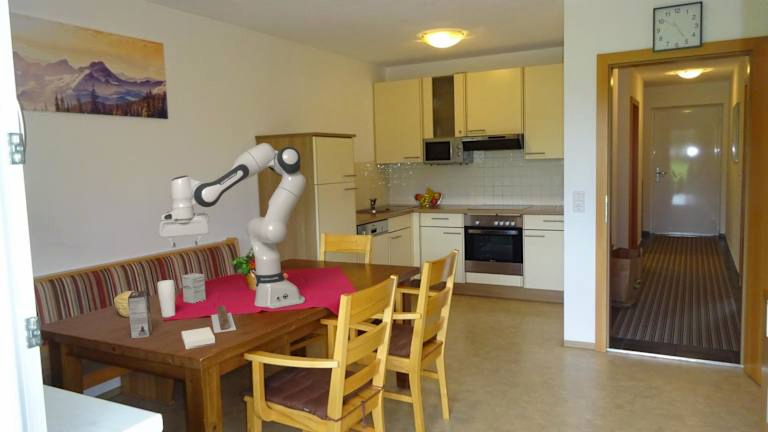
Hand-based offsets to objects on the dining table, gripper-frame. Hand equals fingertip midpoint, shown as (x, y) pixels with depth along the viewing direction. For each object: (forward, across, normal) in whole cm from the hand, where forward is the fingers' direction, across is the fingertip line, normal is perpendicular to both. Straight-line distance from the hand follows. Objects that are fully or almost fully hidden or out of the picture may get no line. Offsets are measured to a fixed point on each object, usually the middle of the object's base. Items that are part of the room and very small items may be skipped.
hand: (185, 246), depth 240 cm
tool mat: (+29, -12, +24) cm, 40 cm away
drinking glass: (+29, +9, +2) cm, 31 cm away
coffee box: (+29, +18, +24) cm, 42 cm away
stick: (+28, -12, +24) cm, 39 cm away
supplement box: (+29, -2, -20) cm, 36 cm away
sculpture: (+29, +24, -8) cm, 39 cm away
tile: (+28, -2, +36) cm, 45 cm away
